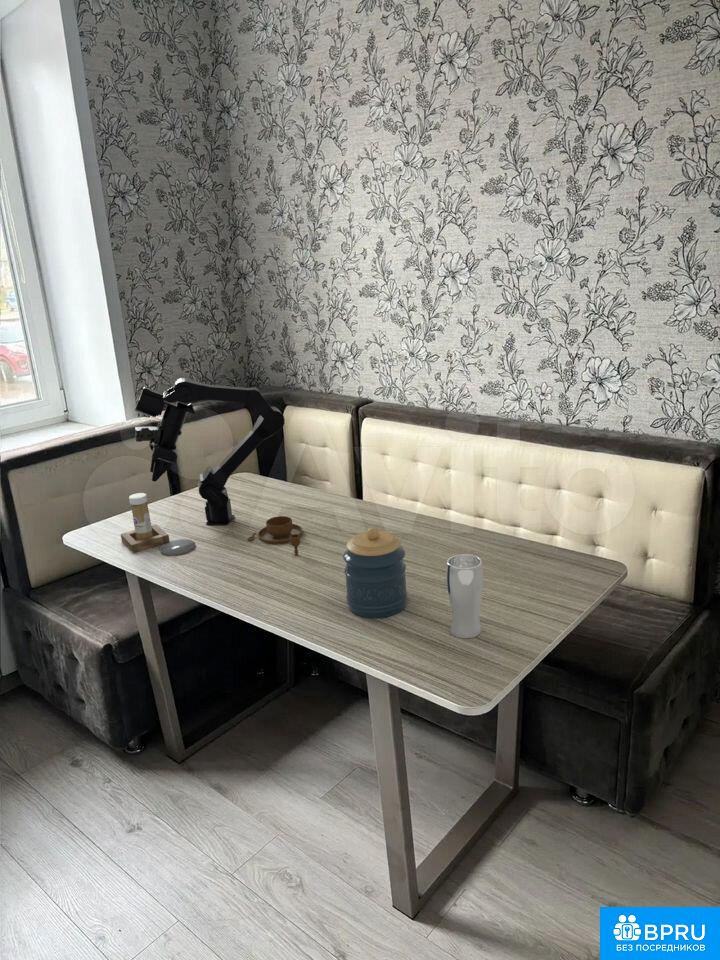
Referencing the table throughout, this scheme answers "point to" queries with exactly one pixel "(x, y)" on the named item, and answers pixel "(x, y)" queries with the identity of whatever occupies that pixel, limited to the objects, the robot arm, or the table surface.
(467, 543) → the table surface
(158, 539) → the square wooden frame
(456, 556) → the beer glass
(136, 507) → the sprinkles bottle
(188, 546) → the coaster
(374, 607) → the canister
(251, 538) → the place setting
